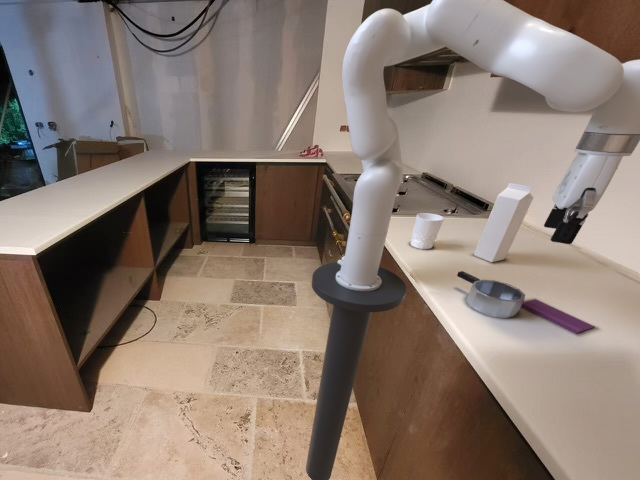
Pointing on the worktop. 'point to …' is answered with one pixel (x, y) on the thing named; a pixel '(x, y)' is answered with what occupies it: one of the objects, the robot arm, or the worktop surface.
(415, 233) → the white cup
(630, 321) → the worktop surface
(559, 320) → the purple flat block
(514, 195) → the milk
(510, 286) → the pan
